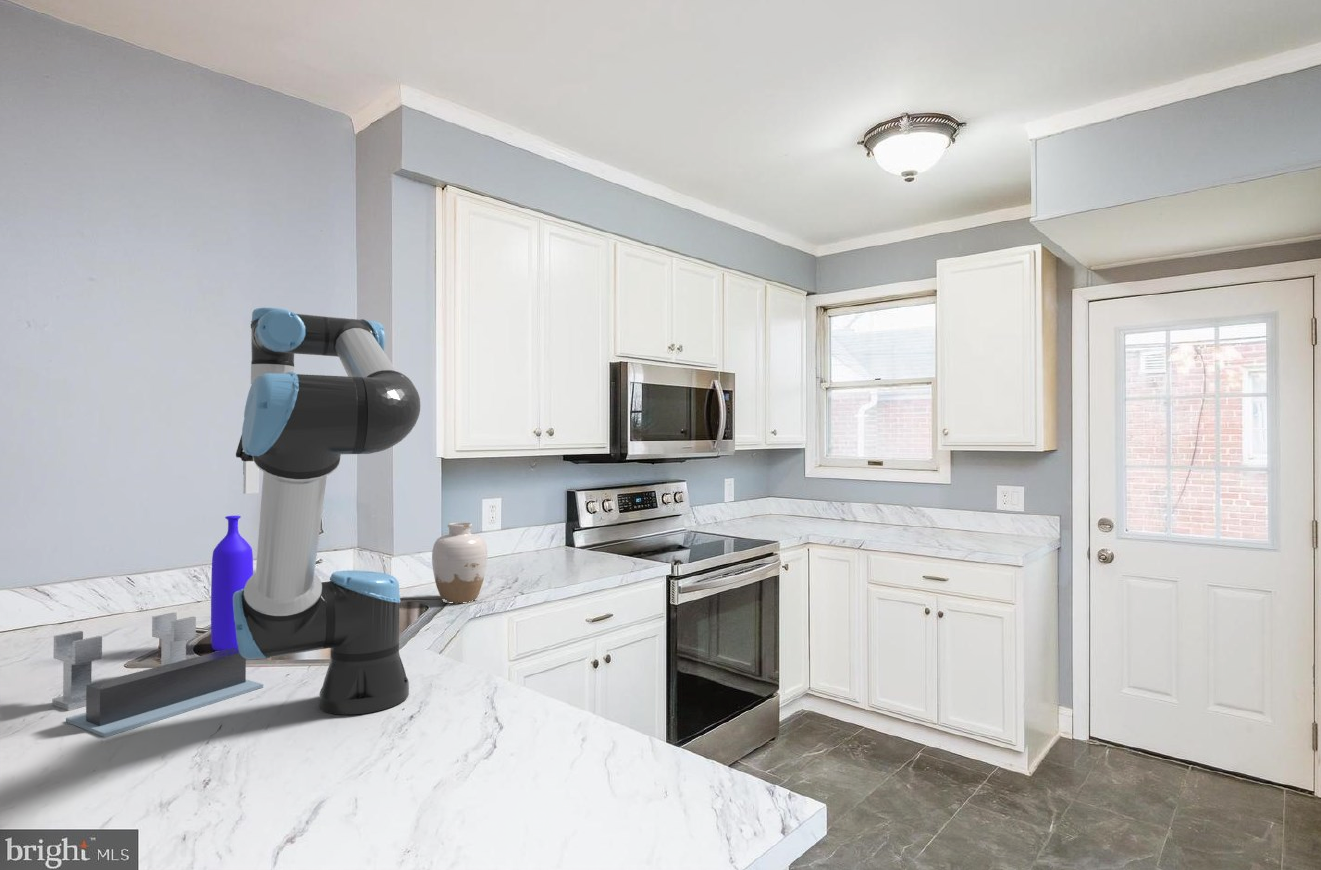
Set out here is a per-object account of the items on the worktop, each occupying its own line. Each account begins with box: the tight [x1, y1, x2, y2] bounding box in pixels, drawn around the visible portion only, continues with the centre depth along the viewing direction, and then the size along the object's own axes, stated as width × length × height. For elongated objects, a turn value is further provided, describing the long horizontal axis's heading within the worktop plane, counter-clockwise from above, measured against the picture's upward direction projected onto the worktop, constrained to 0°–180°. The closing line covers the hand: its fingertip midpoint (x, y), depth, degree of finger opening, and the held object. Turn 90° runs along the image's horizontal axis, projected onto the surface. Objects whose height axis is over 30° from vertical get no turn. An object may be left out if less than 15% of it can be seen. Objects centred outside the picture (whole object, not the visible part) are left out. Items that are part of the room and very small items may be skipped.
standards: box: [51, 611, 197, 711], centre depth 133 cm, size 8×21×12 cm, turn 152°
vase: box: [431, 522, 488, 604], centre depth 209 cm, size 16×16×23 cm
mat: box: [65, 679, 264, 738], centre depth 126 cm, size 13×26×1 cm, turn 152°
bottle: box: [210, 515, 254, 652], centre depth 162 cm, size 8×8×30 cm
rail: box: [85, 648, 247, 726], centre depth 126 cm, size 24×4×6 cm, turn 152°
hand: (271, 494), depth 139 cm, fingers open, 13 cm apart
